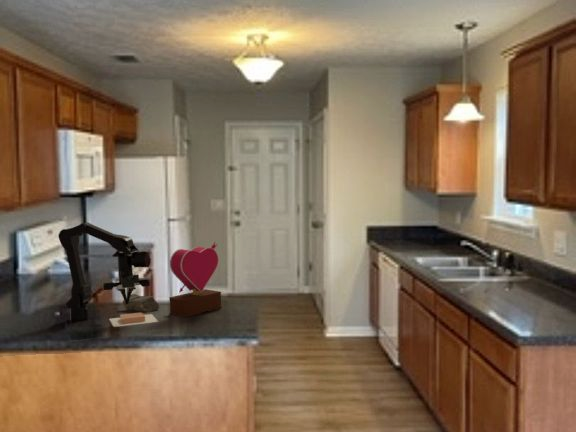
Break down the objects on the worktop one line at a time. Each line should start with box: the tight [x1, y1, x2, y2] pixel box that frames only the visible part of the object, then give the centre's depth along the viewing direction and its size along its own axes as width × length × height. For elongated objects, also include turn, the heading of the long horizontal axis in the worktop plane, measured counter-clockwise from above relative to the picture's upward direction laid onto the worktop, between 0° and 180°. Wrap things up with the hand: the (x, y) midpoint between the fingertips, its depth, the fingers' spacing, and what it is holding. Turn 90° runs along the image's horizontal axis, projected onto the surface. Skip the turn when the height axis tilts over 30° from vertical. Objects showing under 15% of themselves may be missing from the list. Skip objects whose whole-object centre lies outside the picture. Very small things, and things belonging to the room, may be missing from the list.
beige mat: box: [108, 313, 159, 328], centre depth 254 cm, size 18×15×1 cm
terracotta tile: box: [119, 311, 145, 324], centre depth 254 cm, size 2×8×9 cm
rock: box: [122, 293, 160, 313], centre depth 273 cm, size 17×7×10 cm
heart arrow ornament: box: [168, 242, 223, 318], centre depth 270 cm, size 25×10×30 cm, turn 141°
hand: (126, 304), depth 252 cm, fingers closed
